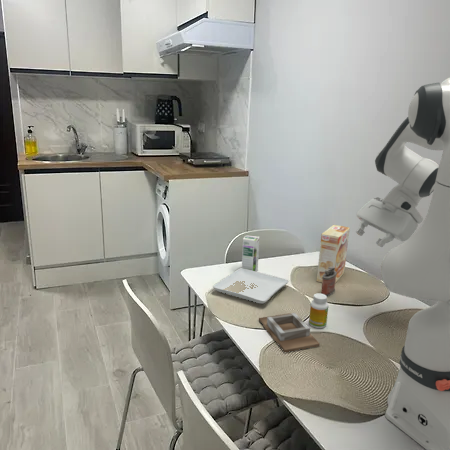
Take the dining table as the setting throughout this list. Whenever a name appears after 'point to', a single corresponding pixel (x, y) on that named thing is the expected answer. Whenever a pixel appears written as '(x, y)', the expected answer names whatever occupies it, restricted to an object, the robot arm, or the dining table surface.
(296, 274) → the dining table surface
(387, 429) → the dining table surface
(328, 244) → the coffeecake box
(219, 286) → the salad plate
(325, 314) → the supplement bottle
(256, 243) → the syrup box
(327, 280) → the lighter
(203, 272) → the dining table surface
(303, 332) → the socket board
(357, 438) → the dining table surface
